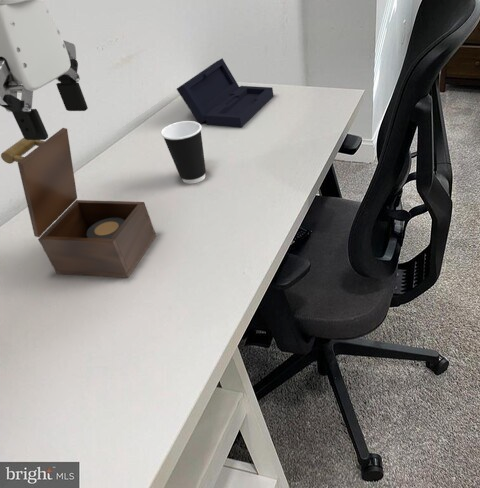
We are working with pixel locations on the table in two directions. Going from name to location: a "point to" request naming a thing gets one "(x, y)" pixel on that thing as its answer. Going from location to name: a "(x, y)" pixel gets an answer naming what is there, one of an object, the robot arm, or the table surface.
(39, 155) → the lid
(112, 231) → the tape
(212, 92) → the storage box
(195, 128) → the dixie cup
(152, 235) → the chest
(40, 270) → the table surface
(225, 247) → the table surface
